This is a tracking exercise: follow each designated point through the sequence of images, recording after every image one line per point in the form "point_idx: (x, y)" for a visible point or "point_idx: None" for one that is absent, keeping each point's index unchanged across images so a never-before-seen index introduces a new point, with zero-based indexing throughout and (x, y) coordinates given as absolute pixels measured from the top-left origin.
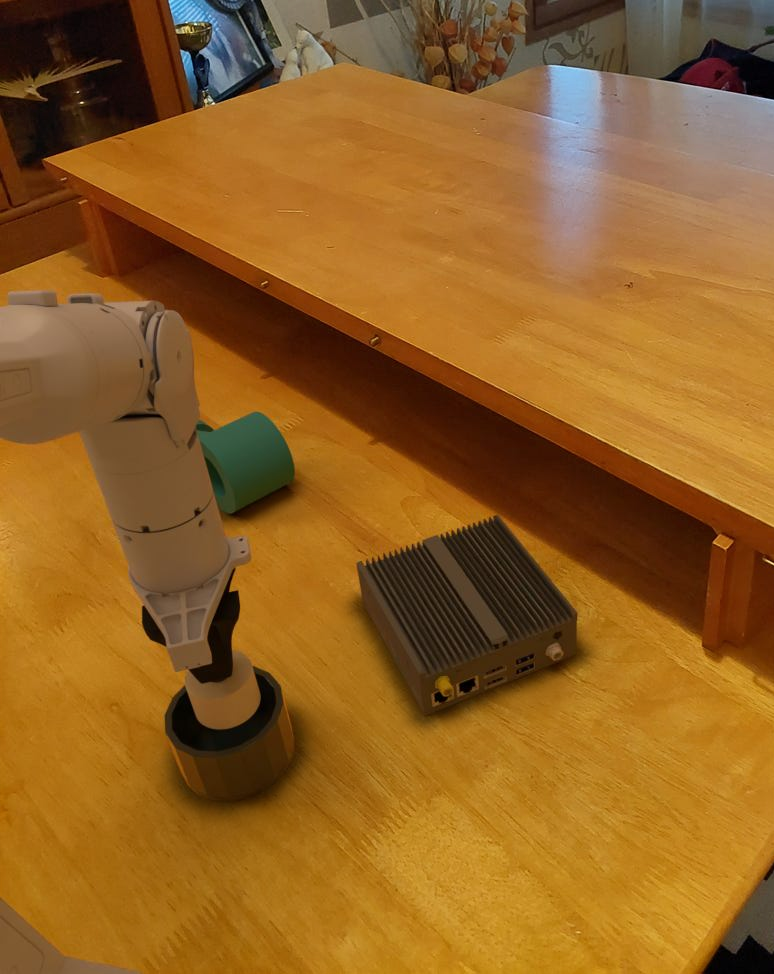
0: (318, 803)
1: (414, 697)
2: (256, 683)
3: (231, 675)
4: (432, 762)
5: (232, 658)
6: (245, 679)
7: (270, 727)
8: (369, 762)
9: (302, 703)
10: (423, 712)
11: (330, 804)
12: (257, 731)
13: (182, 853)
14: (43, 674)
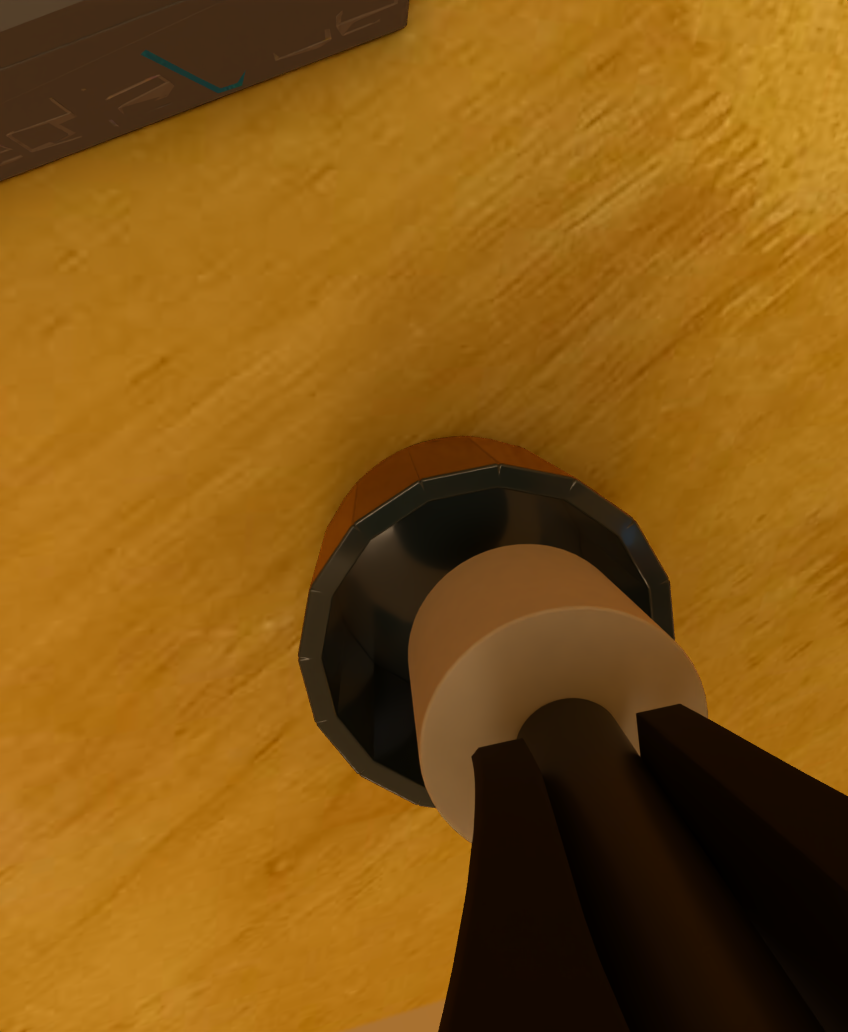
0: (638, 364)
1: (329, 55)
2: (536, 570)
3: (683, 705)
4: (576, 22)
5: (772, 757)
6: (629, 627)
7: (601, 497)
8: (541, 224)
9: (311, 424)
10: (404, 22)
11: (647, 333)
12: (412, 536)
13: (692, 651)
14: (168, 1027)
